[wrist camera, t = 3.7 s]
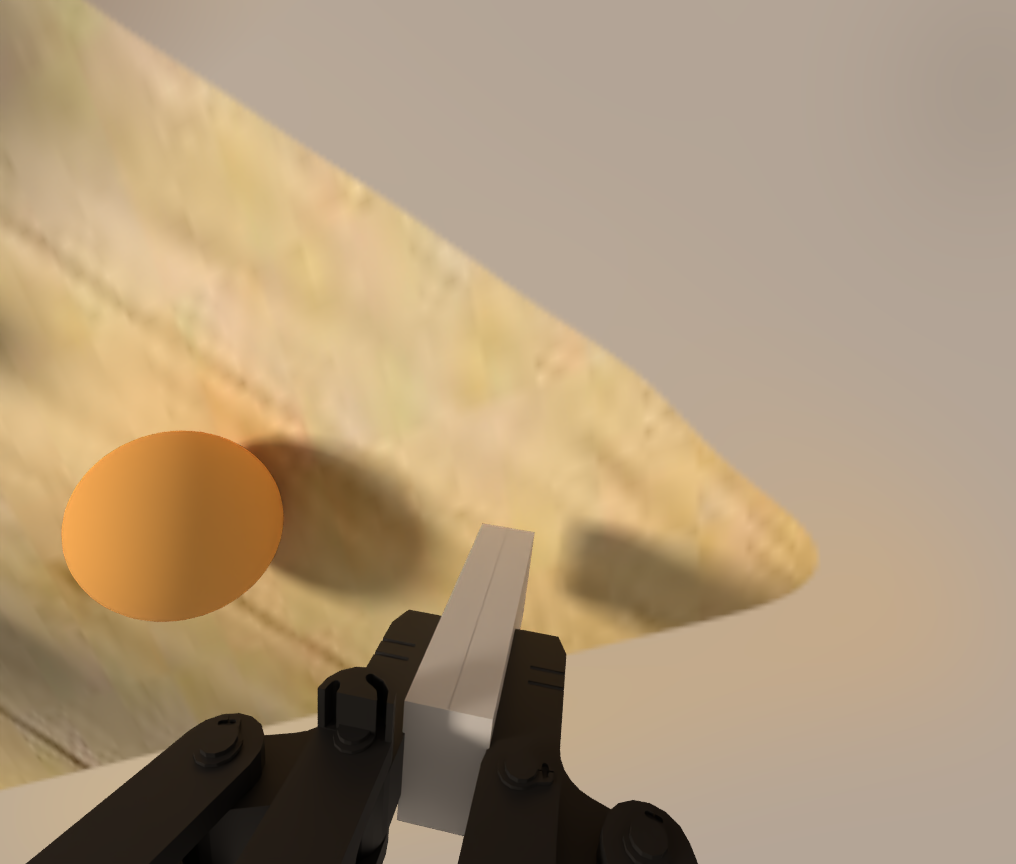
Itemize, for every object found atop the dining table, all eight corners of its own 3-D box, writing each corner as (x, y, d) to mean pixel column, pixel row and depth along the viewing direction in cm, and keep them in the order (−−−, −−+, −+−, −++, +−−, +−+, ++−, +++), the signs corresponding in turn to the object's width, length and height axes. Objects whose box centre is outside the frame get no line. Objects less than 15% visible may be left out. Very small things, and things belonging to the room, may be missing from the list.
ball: (174, 544, 19) (22, 644, 14) (161, 399, 18) (-17, 452, 13) (316, 570, 19) (210, 684, 14) (315, 423, 17) (196, 489, 12)
